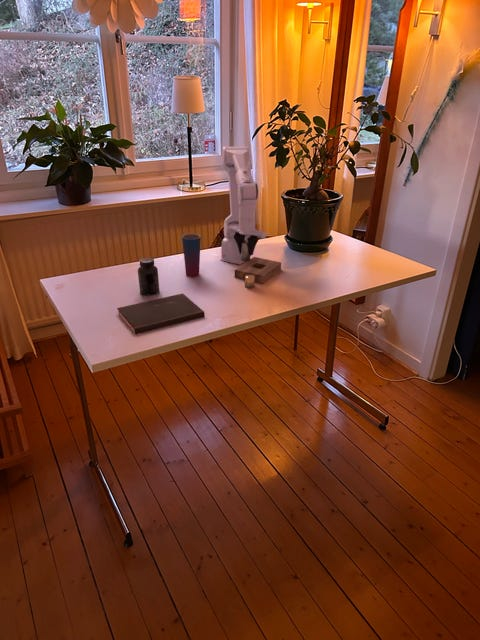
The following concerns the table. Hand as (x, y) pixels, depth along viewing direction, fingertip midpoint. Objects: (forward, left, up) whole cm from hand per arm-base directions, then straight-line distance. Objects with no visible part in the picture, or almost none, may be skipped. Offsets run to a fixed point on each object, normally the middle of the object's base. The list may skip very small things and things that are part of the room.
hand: (246, 253), depth 173 cm
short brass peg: (+5, -7, -9) cm, 13 cm away
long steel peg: (0, 0, -2) cm, 2 cm away
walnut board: (+2, +6, -9) cm, 11 cm away
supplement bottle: (-23, -29, -10) cm, 38 cm away
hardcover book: (-9, -41, -10) cm, 43 cm away
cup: (-19, -8, -10) cm, 22 cm away
